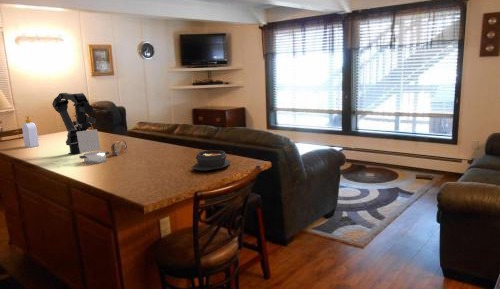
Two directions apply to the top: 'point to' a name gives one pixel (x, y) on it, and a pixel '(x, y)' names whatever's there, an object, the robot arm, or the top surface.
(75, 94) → the robot arm
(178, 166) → the top surface
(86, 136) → the lid
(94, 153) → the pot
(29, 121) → the soap bottle
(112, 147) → the tin
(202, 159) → the casserole
